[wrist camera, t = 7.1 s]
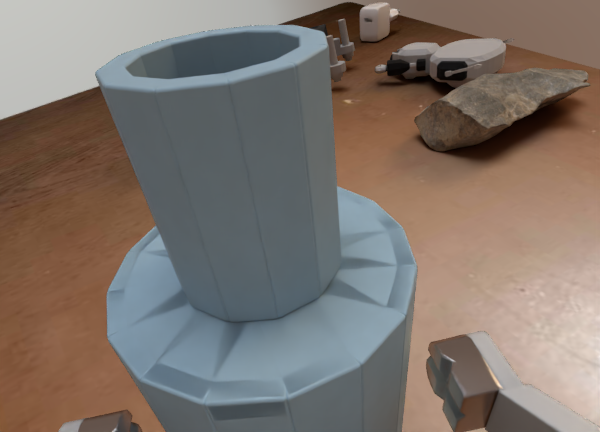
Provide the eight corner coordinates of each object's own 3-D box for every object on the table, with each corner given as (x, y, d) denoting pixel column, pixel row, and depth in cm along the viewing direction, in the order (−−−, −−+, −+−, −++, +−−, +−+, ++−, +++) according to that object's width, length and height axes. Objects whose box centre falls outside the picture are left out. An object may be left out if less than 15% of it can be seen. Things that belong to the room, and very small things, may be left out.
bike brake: (360, 58, 62) (249, 80, 69) (353, 11, 58) (235, 40, 65) (346, 89, 52) (216, 111, 59) (335, 34, 48) (198, 65, 55)
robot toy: (369, 92, 54) (482, 99, 45) (367, 58, 52) (486, 58, 43) (410, 67, 61) (514, 69, 52) (410, 36, 59) (519, 32, 50)
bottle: (229, 608, 13) (-196, 178, 3) (247, 427, 18) (97, 30, 8) (408, 602, 13) (535, 101, 3) (377, 419, 18) (386, -4, 8)
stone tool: (633, 42, 38) (504, 92, 29) (623, 103, 40) (502, 164, 32) (511, 52, 47) (389, 91, 39) (509, 100, 50) (394, 146, 42)
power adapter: (381, 28, 82) (382, -3, 78) (403, 29, 79) (405, -4, 76) (356, 42, 75) (355, 8, 71) (380, 43, 72) (380, 7, 69)
